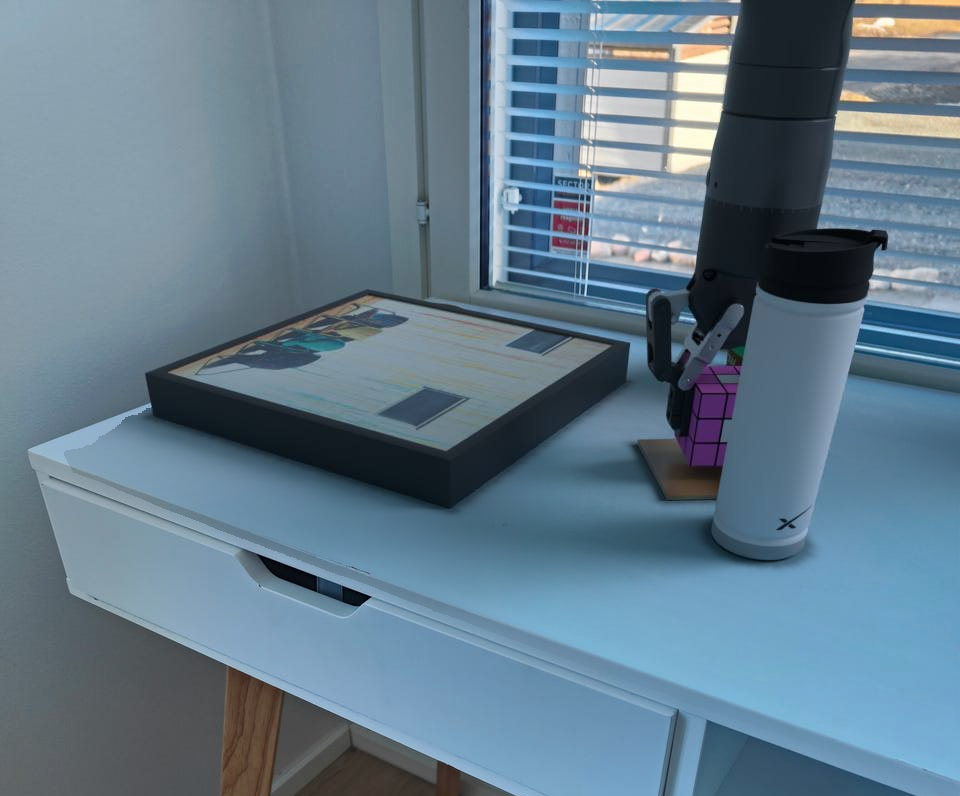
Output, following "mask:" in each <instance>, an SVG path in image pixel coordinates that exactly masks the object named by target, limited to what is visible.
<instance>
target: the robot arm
mask: <svg viewBox="0 0 960 796" xmlns="http://www.w3.org/2000/svg"><path fill="white" fill-rule="evenodd" d="M856 1H857V0H740V2H739V3H740V4H739V11H738V16H737V21H736V24H735V29H734V34H733V38H732V42H731V48H730V53H729V58H728V59H729V61H728V65H727V66H728V68H727V73H726V79H725V87H724V93H723V100H722V106H721V107H722V110H721V112H720V118H719V122H718V126H717V130H716V134H715V136H714V140H713V145H712V149H711V156H710V161H709V167H708V169H707V171H706V176H705V189H706V190H705V195H704V201H703V208H702V216H701V223H700V230H699V238H698V243H697V251H696V258H695V266H694V272H693V274H692V277H691V278H690V280H689V282H688V283H687V284H686V286H685V288H682V289H677V290H670V291H664V292H662V290H660V288H656V287H655V288H651V289H649V290H648V291H647V292H646V294H645V323H646V324H645V325H646V326H645V327H646V362H647V367H648V369H649V370H650V372H651V373H652V375H653V376H654V378H655V380H656V381H657V382H659V383H667V384H669V390H668V396H667V397H668V398H667V405H666V411H665V418H666V422H667V424H668V426H669V428H671V430H673V433H675V434H676V435H677V437H687V436H688V434H689V427H690V421H691V414H692V408H693V402H694V395H695V390H694V389H693V386H694V384H695V382H696V381H697V379H698V378H699V376H700V374H701V373H702V371H703V370H704V368H705V366H708V365H710V364H712V362H713V361H714V359H715V357H716V356H717V355H718V353H719V351H720V350H728V349H733V348H737V347H741V346H743V347H745V346H746V340H747V335H748V330H749V324H750V319H751V314H752V308H753V303H754V298H755V296H756V295H757V294H756V287H757V283H758V281H759V276H760V272H761V271H762V270H763V269H762V260H763V255H764V250H765V245H766V244H767V243H769V242H771V240H772V238H773V237H775V236H777V235H779V234H783V233H788V232H793V231H800V230H809V229H818V224H819V221H820V214H821V212H822V211H821V210H822V206H823V203H824V202H823V201H824V196H825V191H826V186H827V182H828V177H829V173H830V170H831V169H830V168H831V163H832V159H833V158H832V157H833V149H834V139H835V138H834V136H835V127H836V120H837V116H836V115H837V114H838V111H839V106H840V101H841V96H842V93H843V92H842V91H843V87H844V83H845V78H846V73H847V68H848V66H847V65H848V63H849V56H850V52H851V45H852V37H853V29H854V12H855V6H856ZM686 307H688V310H689V311H690V312H691V315H692V316H693V318H694V320H695V323H694V324H693V325H692V327H691V329H690V330H689V332H688V334H687V335H686V337H685V339H684V342H683V347H682V349H681V351H680V352H679V353H678V355H677V357H676V359H675V361H672V359H673V358H672V357H673V356H672V326H673V325H675V324H677V323H678V321H679V320H680V317H681V313H682V311H683V310H684V309H685V308H686Z"/></svg>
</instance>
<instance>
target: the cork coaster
mask: <svg viewBox="0 0 960 796" xmlns="http://www.w3.org/2000/svg"><path fill="white" fill-rule="evenodd" d="M636 445H637V446H638V449H639V450H640V453H641V455H642V457H643V458H644V460H645V462H646V464H647V465H648V467H649V470H650V471H651V473H652V475H653V477H654V479H655V480H656V483H657V484H658V486H659V488H660V490H661V493H662V494H663V496H664V497H665V500H666V501H687V500H690V501H691V500H717V496H718V491H719V485H720V480H721V474H722V469H723V466H690V465H689V463H688V461H687V459H686V457H685V455H684V454H683V452H682V450H681V448H680V446H679V444H678V442H677V440H676V438H650V439H649V438H647V439H637V440H636Z"/></svg>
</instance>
